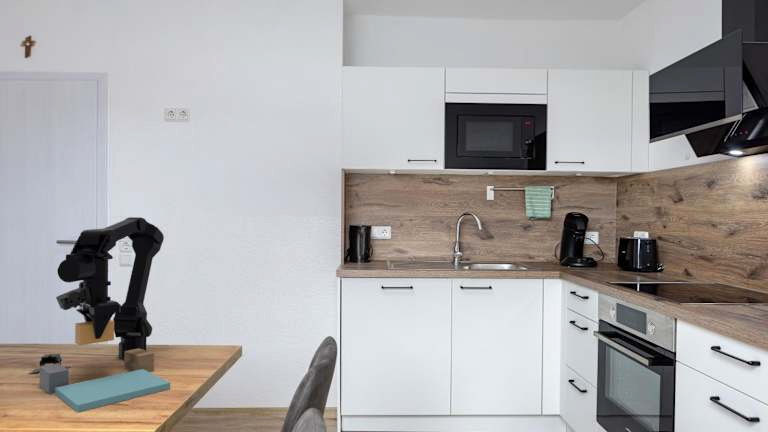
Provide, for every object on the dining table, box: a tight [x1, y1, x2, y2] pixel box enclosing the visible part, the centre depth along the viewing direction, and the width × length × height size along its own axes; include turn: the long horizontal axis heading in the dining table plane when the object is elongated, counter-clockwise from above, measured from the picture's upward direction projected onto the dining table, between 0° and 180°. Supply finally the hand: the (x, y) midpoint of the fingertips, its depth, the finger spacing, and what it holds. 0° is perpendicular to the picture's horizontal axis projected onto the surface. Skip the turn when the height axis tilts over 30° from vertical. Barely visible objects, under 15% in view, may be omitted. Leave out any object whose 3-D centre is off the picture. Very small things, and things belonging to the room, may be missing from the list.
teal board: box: [54, 369, 171, 413], centre depth 118 cm, size 20×16×2 cm
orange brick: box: [74, 319, 115, 346], centre depth 130 cm, size 8×4×5 cm, turn 137°
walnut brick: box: [123, 348, 155, 373], centre depth 135 cm, size 8×4×5 cm, turn 54°
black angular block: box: [27, 353, 72, 375], centre depth 135 cm, size 12×7×5 cm, turn 106°
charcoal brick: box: [38, 363, 70, 395], centre depth 120 cm, size 8×4×5 cm, turn 48°
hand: (94, 337), depth 130 cm, fingers closed on orange brick, 4 cm apart
